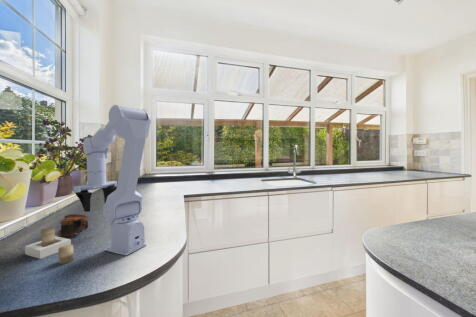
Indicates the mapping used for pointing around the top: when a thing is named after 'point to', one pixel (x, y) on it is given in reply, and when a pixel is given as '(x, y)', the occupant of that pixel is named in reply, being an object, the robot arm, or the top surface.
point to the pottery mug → (73, 225)
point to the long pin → (47, 236)
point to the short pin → (66, 254)
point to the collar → (46, 248)
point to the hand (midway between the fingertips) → (97, 208)
